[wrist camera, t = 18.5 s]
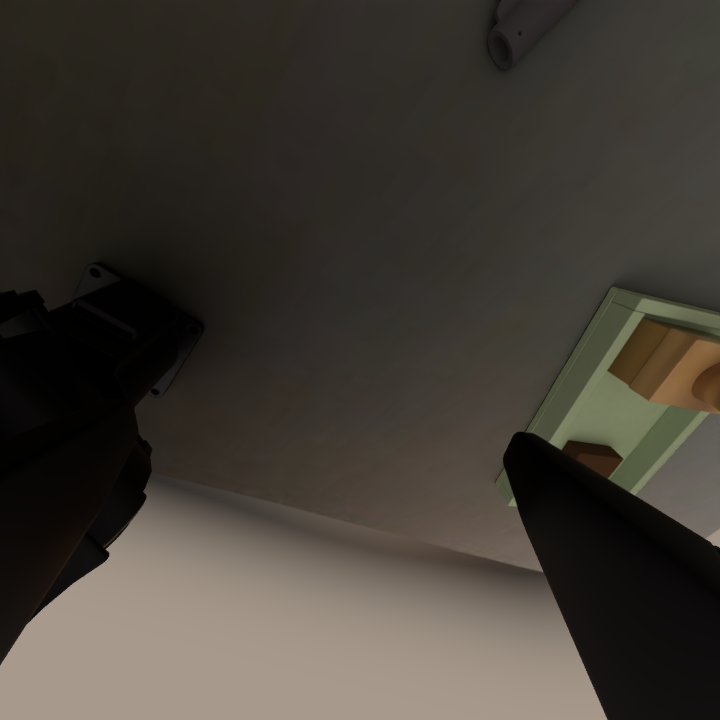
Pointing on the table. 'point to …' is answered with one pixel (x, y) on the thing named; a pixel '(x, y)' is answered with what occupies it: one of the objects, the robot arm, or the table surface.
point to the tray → (617, 393)
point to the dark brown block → (594, 456)
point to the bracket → (522, 27)
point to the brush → (671, 365)
